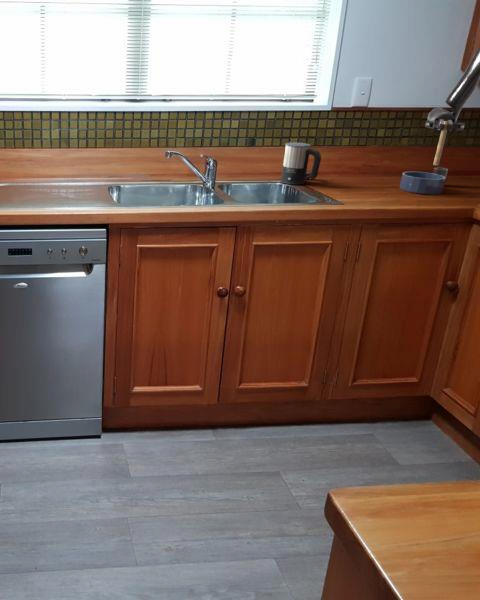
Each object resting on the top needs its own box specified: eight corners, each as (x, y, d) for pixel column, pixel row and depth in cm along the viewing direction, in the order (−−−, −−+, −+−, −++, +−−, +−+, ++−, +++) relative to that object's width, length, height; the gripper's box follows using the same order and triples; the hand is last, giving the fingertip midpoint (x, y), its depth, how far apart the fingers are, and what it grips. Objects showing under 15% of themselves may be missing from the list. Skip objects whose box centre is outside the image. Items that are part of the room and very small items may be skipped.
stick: (438, 164, 230) (449, 121, 224) (438, 165, 229) (449, 121, 222) (432, 164, 231) (443, 120, 225) (433, 165, 229) (444, 121, 223)
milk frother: (279, 183, 235) (285, 144, 229) (280, 176, 249) (285, 139, 243) (317, 187, 231) (325, 147, 225) (316, 179, 245) (323, 141, 239)
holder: (443, 186, 237) (447, 168, 235) (443, 188, 233) (448, 170, 231) (429, 184, 239) (434, 167, 236) (430, 187, 235) (434, 169, 233)
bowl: (440, 190, 231) (444, 174, 229) (442, 197, 219) (446, 180, 217) (399, 185, 237) (402, 170, 234) (398, 192, 225) (402, 176, 223)
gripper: (426, 111, 237) (427, 115, 223) (466, 114, 232) (470, 118, 217) (421, 131, 240) (422, 136, 226) (461, 134, 235) (464, 139, 220)
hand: (445, 127), depth 222 cm, fingers closed on stick, 2 cm apart
